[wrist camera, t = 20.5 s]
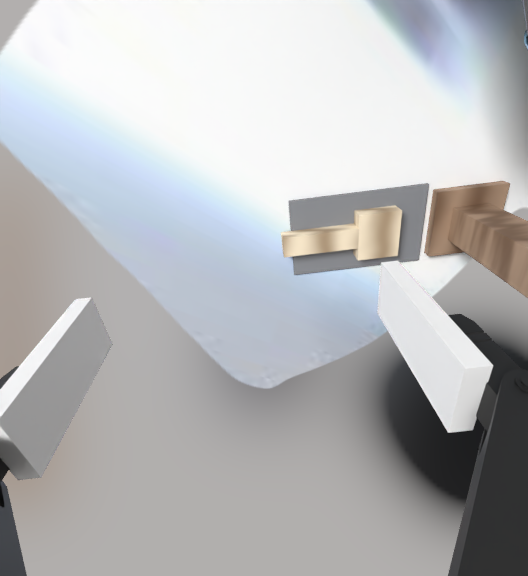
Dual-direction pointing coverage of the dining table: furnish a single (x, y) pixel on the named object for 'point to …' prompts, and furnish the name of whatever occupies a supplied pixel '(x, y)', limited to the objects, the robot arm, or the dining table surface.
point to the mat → (342, 212)
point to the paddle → (351, 236)
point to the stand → (480, 230)
